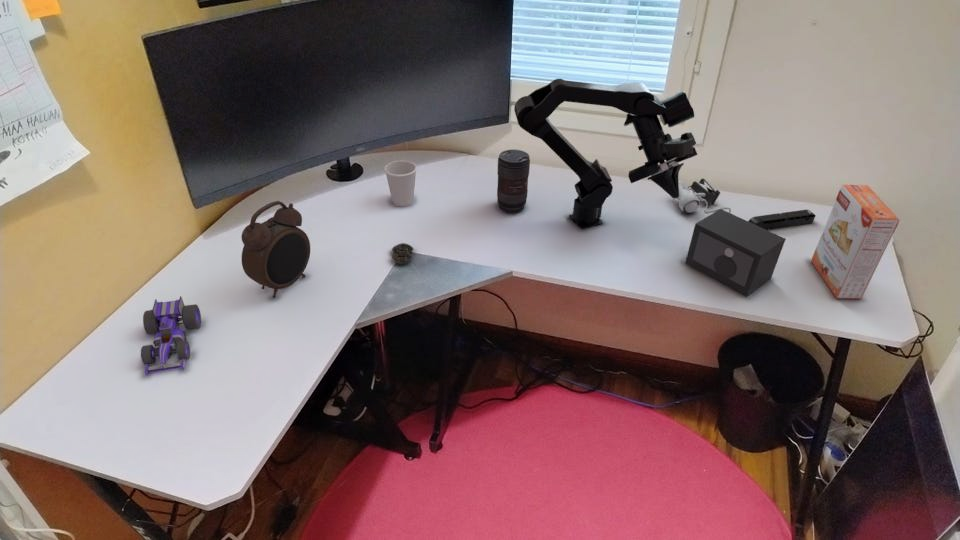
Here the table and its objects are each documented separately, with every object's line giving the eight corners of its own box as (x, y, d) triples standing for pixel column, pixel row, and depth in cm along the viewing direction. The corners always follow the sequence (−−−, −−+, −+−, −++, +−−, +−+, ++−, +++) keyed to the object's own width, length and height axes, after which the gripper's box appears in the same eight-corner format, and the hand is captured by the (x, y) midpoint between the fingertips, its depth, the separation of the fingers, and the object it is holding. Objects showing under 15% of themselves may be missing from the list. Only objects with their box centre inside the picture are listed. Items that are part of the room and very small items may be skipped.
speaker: (683, 264, 144) (693, 224, 137) (709, 247, 149) (720, 208, 143) (745, 297, 134) (760, 256, 127) (770, 279, 139) (785, 238, 133)
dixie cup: (401, 190, 170) (399, 157, 164) (425, 199, 166) (423, 166, 160) (380, 202, 164) (377, 168, 158) (404, 212, 161) (401, 178, 155)
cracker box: (808, 261, 145) (840, 183, 133) (834, 262, 145) (869, 183, 132) (833, 299, 134) (871, 217, 121) (861, 300, 134) (902, 218, 121)
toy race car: (137, 377, 113) (125, 351, 110) (153, 324, 125) (142, 299, 121) (192, 369, 115) (183, 343, 111) (202, 317, 127) (194, 292, 123)
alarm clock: (272, 308, 129) (252, 228, 117) (248, 296, 132) (226, 217, 120) (320, 273, 139) (307, 196, 127) (297, 262, 142) (282, 186, 130)
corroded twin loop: (390, 266, 141) (390, 262, 141) (392, 246, 148) (392, 243, 147) (412, 265, 142) (412, 262, 141) (413, 246, 148) (413, 242, 147)
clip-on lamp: (732, 234, 159) (700, 188, 171) (744, 216, 155) (710, 170, 166) (693, 237, 156) (663, 189, 167) (703, 218, 151) (672, 171, 163)
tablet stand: (752, 232, 155) (755, 222, 153) (746, 226, 157) (749, 216, 155) (813, 223, 158) (817, 213, 157) (806, 218, 160) (810, 208, 159)
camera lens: (532, 204, 164) (536, 153, 155) (517, 218, 159) (520, 165, 150) (506, 196, 168) (508, 145, 159) (490, 209, 162) (492, 157, 153)
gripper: (651, 133, 132) (678, 201, 133) (702, 113, 142) (727, 176, 142) (615, 150, 141) (641, 213, 142) (666, 130, 151) (690, 189, 152)
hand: (676, 197), depth 144 cm, fingers closed
